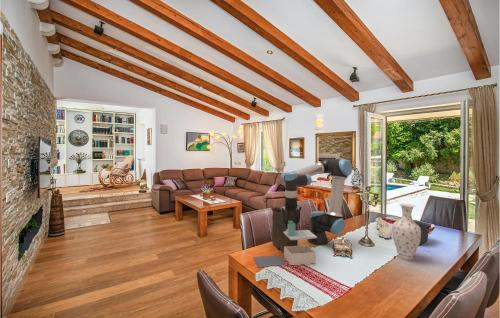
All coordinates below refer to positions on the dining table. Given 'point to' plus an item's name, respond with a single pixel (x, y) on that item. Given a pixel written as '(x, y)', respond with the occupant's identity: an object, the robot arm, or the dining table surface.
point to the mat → (269, 261)
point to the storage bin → (424, 231)
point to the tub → (299, 254)
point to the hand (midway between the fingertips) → (290, 233)
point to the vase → (406, 234)
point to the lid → (298, 233)
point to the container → (281, 229)
